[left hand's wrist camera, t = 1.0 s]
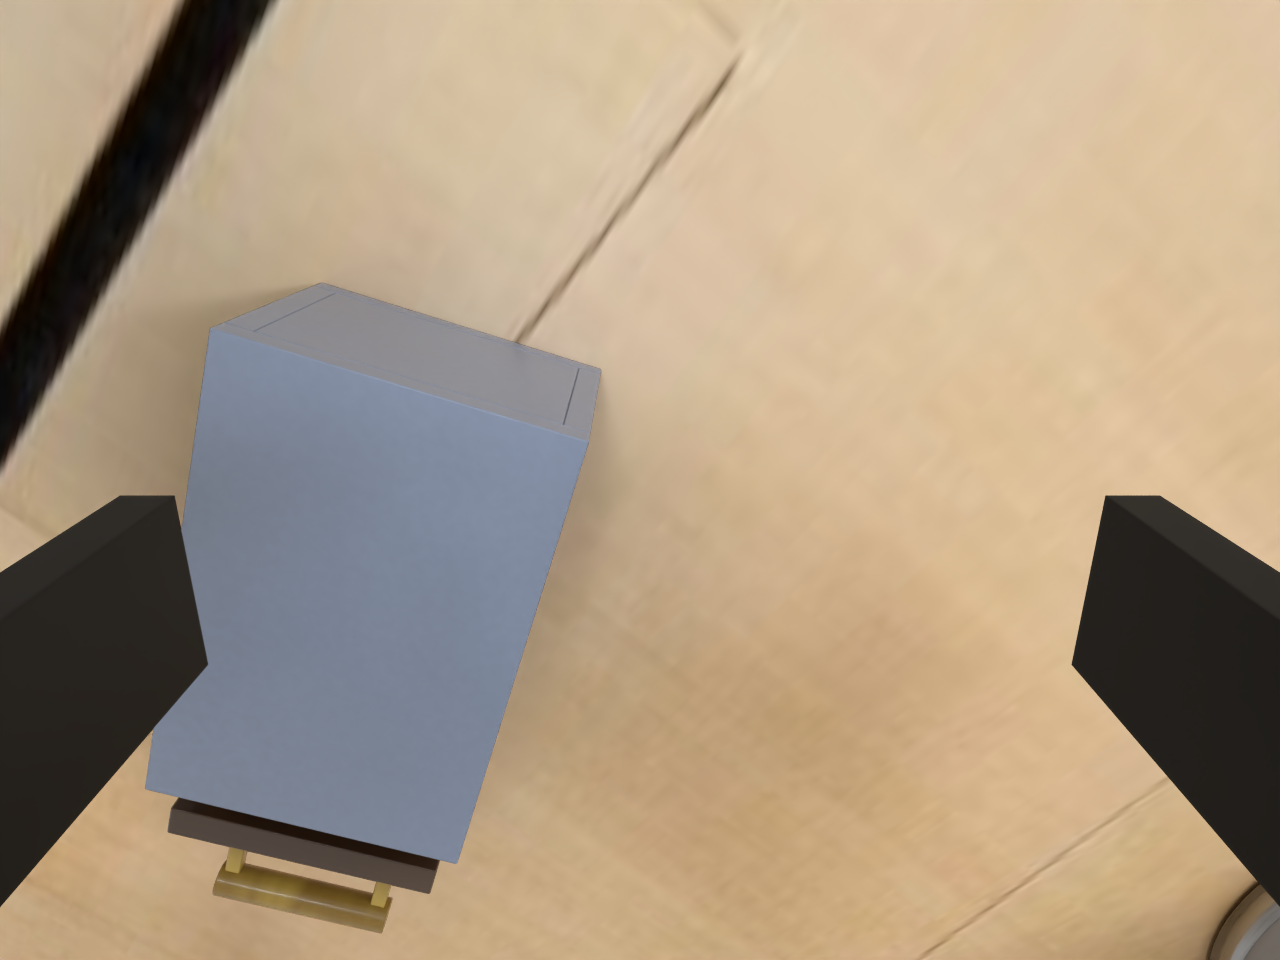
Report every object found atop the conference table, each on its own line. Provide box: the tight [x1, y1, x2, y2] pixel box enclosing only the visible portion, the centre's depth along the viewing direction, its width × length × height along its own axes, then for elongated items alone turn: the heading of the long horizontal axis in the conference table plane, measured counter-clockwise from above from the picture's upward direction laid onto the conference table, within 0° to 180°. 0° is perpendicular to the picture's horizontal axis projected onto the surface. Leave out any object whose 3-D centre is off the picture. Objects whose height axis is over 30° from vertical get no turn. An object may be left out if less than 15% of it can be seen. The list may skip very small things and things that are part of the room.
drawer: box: [168, 797, 440, 933], centre depth 34 cm, size 21×10×7 cm, turn 163°
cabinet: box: [145, 283, 601, 864], centre depth 32 cm, size 17×11×9 cm, turn 163°
